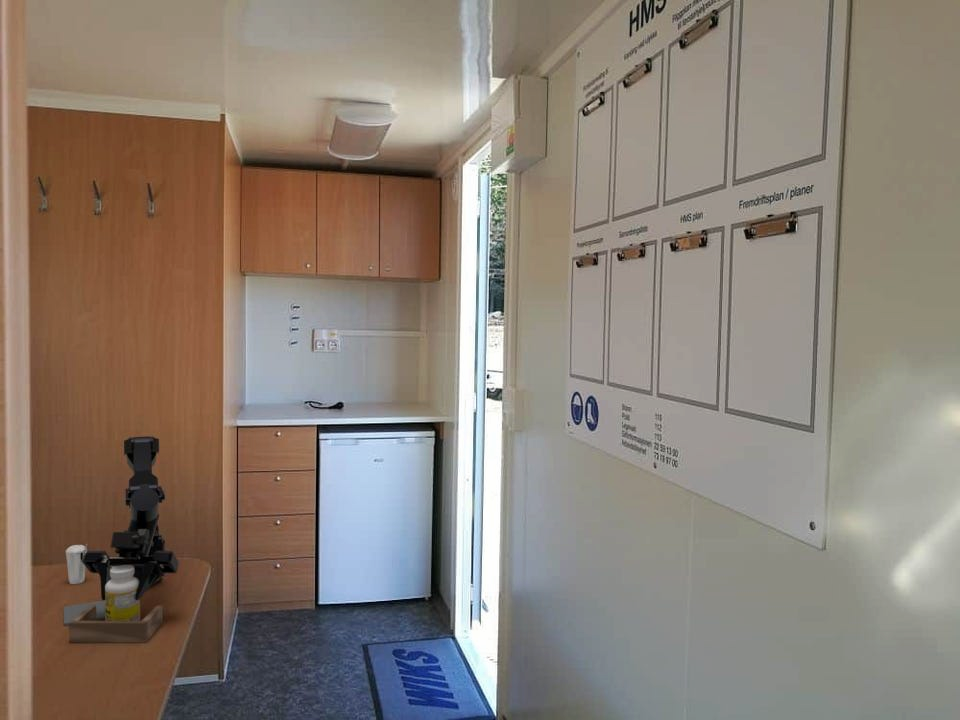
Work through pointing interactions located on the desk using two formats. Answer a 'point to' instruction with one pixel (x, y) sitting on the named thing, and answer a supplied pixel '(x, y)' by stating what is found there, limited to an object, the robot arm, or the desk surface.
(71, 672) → the desk surface
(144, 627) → the frame
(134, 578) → the supplement bottle
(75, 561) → the milkshake
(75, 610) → the charcoal mat
